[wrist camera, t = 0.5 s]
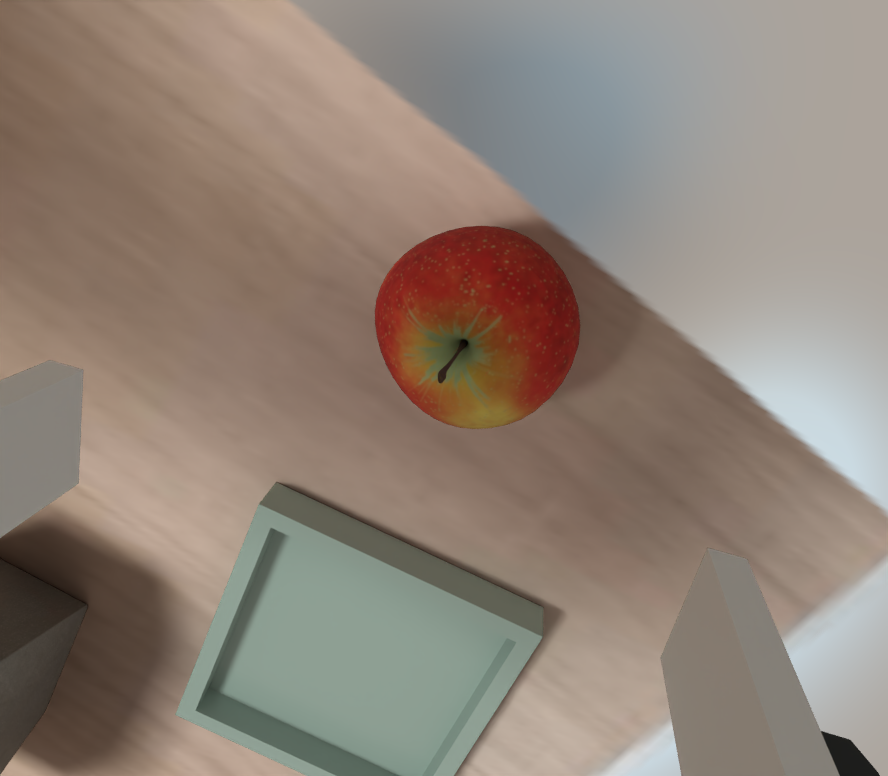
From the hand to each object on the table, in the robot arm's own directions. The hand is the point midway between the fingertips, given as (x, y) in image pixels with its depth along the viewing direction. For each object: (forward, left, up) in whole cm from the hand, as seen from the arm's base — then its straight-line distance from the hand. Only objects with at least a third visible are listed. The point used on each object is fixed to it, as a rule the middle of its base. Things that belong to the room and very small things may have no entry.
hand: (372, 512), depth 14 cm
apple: (+1, 0, -20) cm, 20 cm away
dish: (+3, -22, -20) cm, 30 cm away
